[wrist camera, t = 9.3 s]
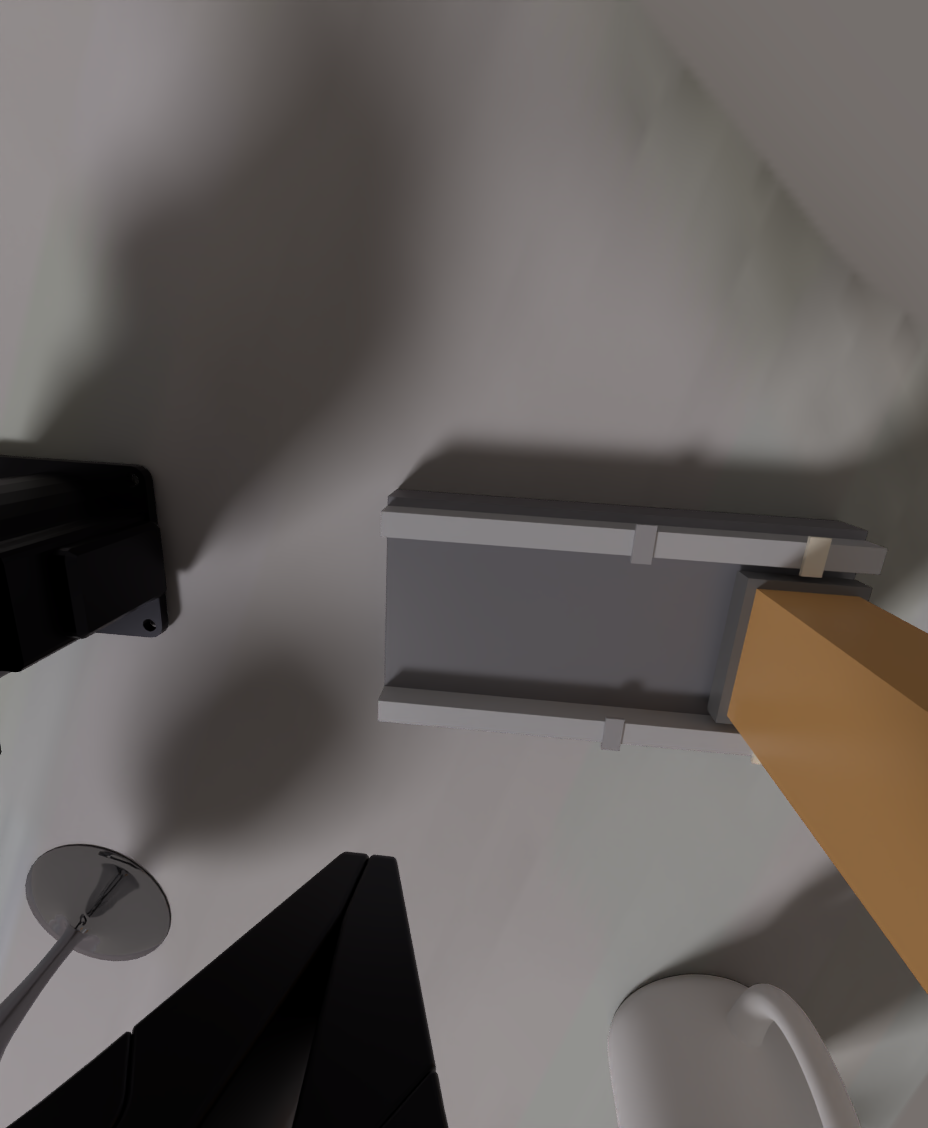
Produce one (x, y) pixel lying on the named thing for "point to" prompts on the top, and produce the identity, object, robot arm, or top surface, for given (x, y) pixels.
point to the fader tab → (839, 732)
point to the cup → (721, 1059)
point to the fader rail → (579, 612)
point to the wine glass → (86, 917)
